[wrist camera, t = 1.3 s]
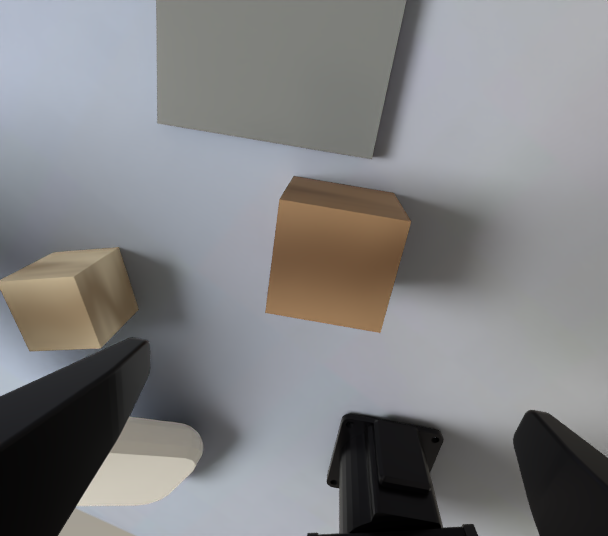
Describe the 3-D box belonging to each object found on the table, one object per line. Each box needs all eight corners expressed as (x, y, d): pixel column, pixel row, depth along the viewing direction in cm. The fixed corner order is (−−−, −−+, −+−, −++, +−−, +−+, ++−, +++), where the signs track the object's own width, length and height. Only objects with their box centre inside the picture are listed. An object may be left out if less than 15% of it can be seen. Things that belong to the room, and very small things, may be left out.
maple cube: (139, 308, 23) (101, 348, 19) (78, 312, 23) (29, 351, 19) (119, 246, 21) (73, 276, 17) (54, 251, 22) (-4, 281, 18)
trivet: (370, 156, 18) (371, 159, 17) (164, 122, 18) (157, 123, 17) (415, -53, 15) (419, -62, 14) (164, -93, 15) (155, -103, 14)
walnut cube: (370, 282, 21) (380, 332, 16) (281, 266, 21) (265, 312, 16) (393, 192, 19) (411, 221, 14) (293, 175, 19) (279, 199, 14)
